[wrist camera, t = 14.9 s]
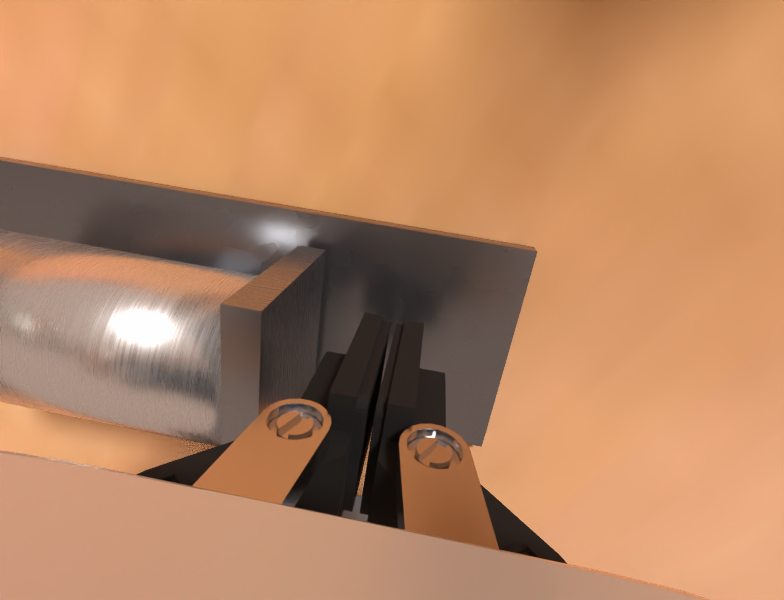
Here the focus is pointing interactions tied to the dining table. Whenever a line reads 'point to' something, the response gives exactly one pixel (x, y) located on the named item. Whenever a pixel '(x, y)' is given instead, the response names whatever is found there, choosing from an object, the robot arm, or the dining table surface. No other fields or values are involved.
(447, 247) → the rail
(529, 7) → the dining table surface
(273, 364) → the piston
